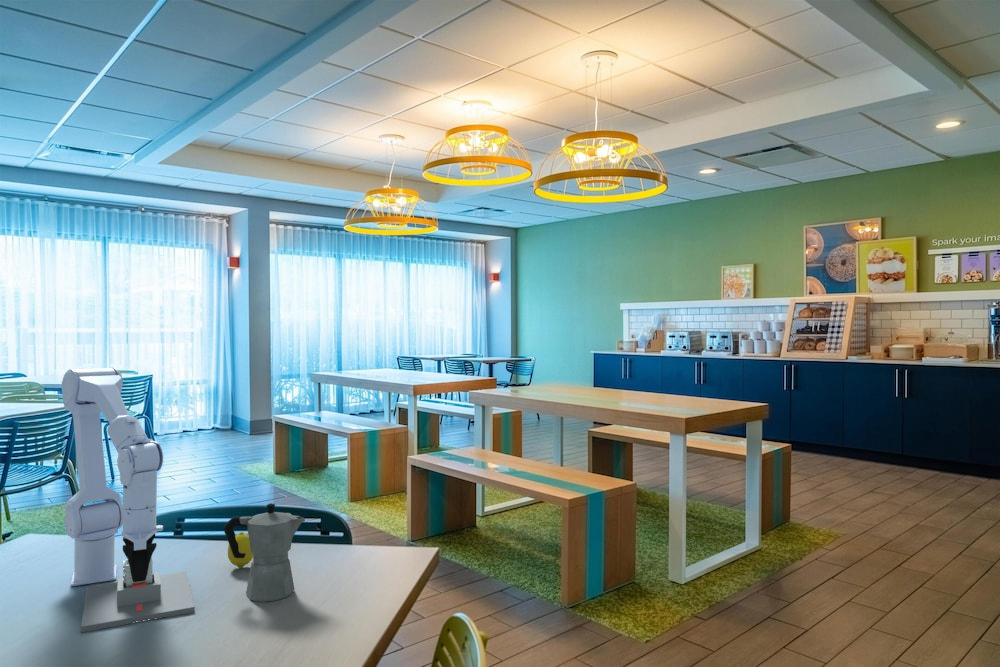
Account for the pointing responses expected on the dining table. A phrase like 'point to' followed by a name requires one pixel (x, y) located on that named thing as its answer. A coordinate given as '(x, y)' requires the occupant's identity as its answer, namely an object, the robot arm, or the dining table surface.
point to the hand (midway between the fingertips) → (139, 576)
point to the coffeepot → (267, 552)
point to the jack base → (136, 601)
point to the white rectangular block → (128, 578)
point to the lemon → (241, 550)
